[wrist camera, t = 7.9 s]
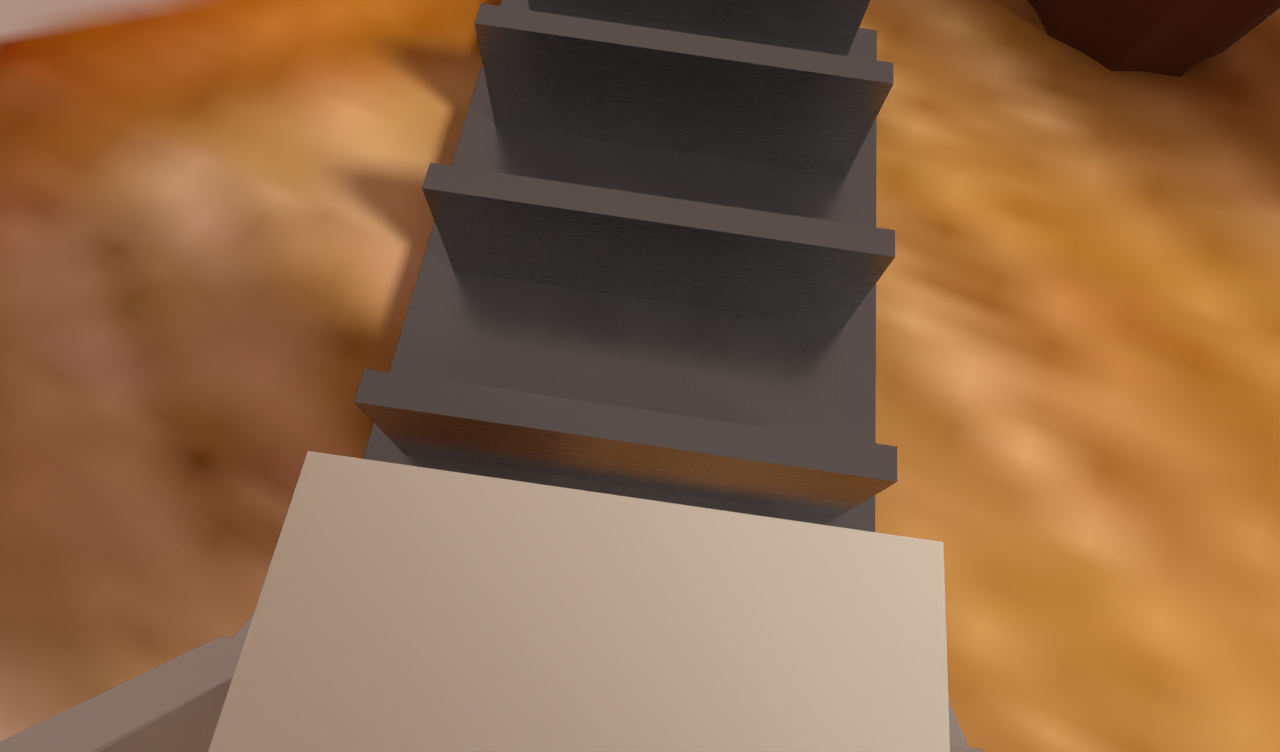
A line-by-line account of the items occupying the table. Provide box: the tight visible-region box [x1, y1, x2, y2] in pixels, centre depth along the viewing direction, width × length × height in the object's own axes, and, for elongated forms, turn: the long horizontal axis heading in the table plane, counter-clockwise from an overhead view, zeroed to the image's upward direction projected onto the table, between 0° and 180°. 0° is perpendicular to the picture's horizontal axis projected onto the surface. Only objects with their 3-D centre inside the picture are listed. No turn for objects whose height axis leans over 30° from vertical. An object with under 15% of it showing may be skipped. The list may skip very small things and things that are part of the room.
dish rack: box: [354, 0, 897, 532], centre depth 21 cm, size 19×14×5 cm
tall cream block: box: [208, 451, 950, 752], centre depth 9 cm, size 3×5×10 cm, turn 82°
